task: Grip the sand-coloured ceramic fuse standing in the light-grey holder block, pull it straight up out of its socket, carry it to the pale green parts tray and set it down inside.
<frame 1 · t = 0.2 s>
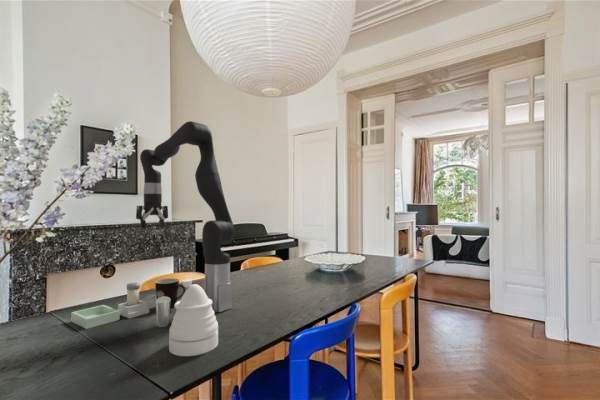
hand: (152, 228, 144), 29 cm above the table, fingers open, 8 cm apart
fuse: (133, 309, 113), point 2 cm above the table, touching holder
holder: (132, 313, 113), on the table
coffee mug: (168, 308, 119), on the table
milkshake: (161, 326, 101), on the table
honey pot: (194, 346, 86), on the table
tray: (95, 320, 106), on the table
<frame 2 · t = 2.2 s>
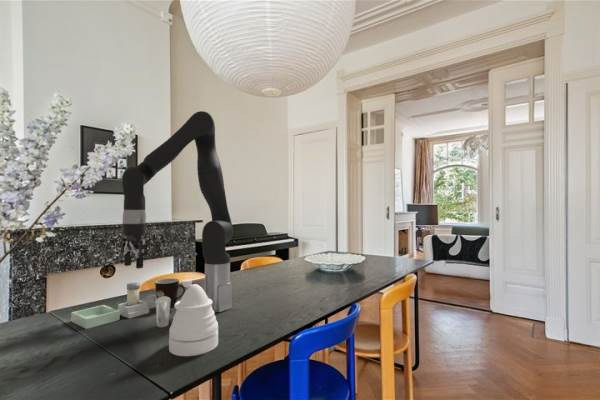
hand: (133, 266, 114), 17 cm above the table, fingers open, 8 cm apart
nothing on the table moved.
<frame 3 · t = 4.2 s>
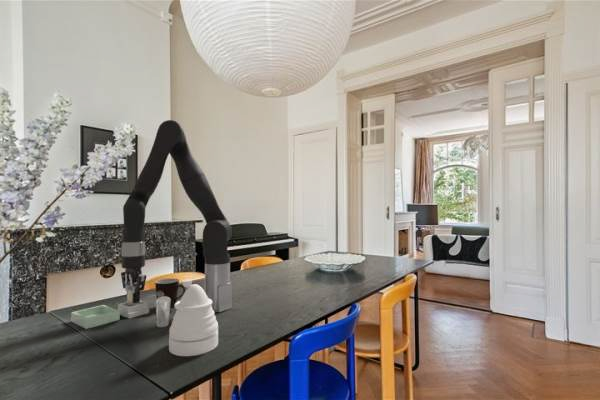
hand: (133, 301, 113), 4 cm above the table, fingers closed on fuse, 3 cm apart
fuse: (133, 309, 113), point 1 cm above the table, touching gripper, holder
everything else where it was.
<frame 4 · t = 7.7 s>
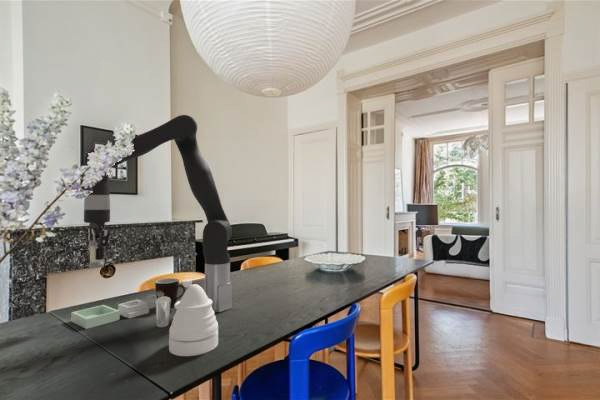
hand: (96, 258, 107), 21 cm above the table, fingers closed on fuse, 3 cm apart
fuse: (96, 266, 106), point 18 cm above the table, touching gripper
everything else where it was.
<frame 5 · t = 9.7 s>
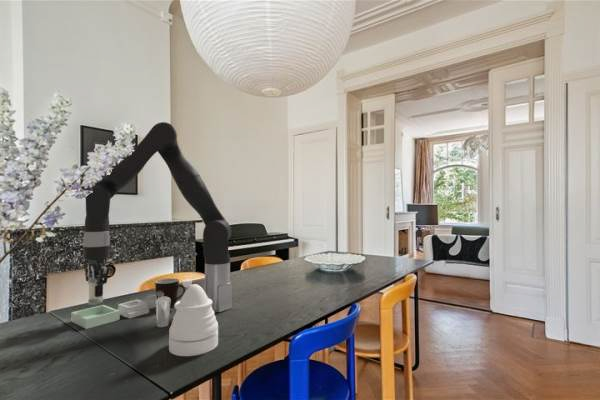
hand: (95, 295, 106), 8 cm above the table, fingers closed on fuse, 3 cm apart
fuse: (95, 303, 106), point 6 cm above the table, touching gripper
everything else where it was.
when the fingers open (4 cm above the table, at t = 11.4 s): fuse stays where it is, resting on tray.
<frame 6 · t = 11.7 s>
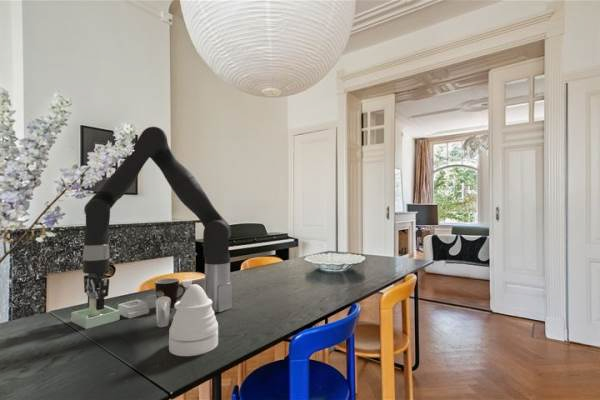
hand: (95, 307, 106), 4 cm above the table, fingers open, 6 cm apart
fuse: (95, 318, 106), point 1 cm above the table, touching tray
everything else where it was.
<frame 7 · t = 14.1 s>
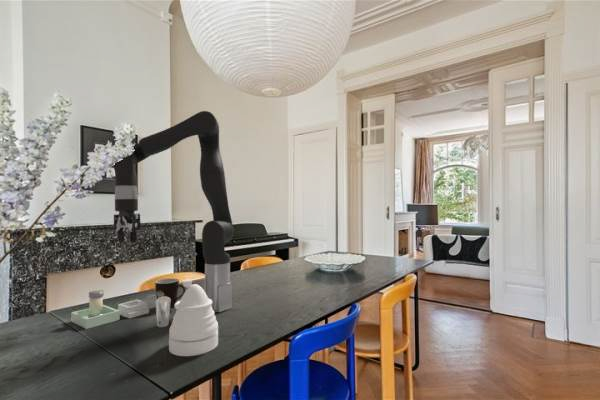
hand: (126, 242, 116), 25 cm above the table, fingers open, 8 cm apart
nothing on the table moved.
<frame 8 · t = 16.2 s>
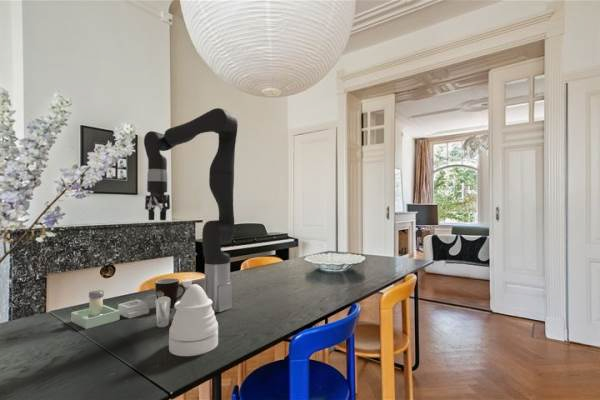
hand: (157, 220, 129), 33 cm above the table, fingers open, 8 cm apart
nothing on the table moved.
at the end: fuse inside the target area on the tray (0.1 cm from its centre), point 0.6 cm above the tray's base; the gripper is holding nothing; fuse touching tray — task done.
